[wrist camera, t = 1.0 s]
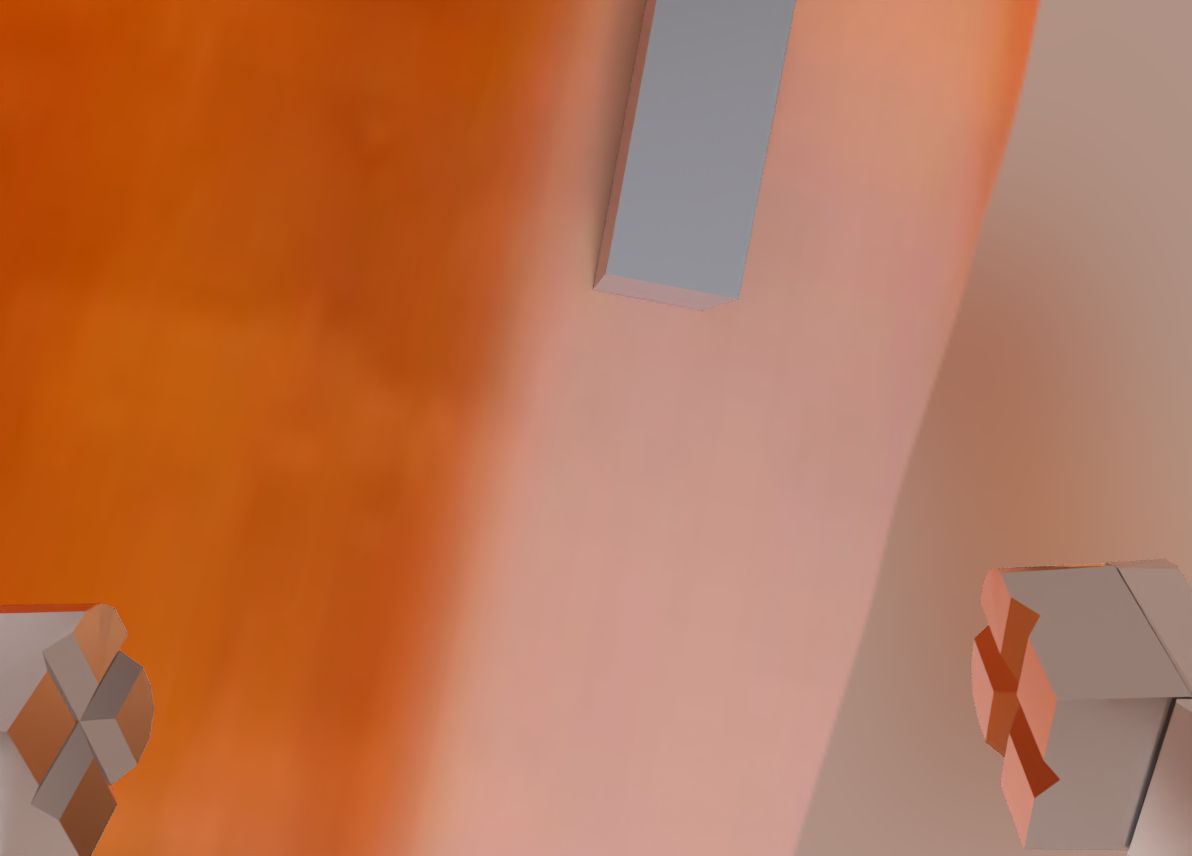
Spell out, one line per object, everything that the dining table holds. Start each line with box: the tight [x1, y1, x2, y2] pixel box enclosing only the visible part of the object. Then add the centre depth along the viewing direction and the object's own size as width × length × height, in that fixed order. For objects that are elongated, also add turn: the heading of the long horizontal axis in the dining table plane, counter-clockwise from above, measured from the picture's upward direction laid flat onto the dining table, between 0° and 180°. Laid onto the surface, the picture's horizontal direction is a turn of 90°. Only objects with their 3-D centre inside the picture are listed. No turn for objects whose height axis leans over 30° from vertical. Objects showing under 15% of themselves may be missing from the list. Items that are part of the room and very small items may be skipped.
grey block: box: [593, 0, 796, 311], centre depth 42 cm, size 13×5×8 cm, turn 169°
